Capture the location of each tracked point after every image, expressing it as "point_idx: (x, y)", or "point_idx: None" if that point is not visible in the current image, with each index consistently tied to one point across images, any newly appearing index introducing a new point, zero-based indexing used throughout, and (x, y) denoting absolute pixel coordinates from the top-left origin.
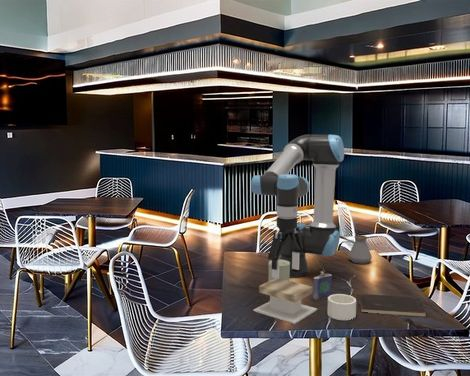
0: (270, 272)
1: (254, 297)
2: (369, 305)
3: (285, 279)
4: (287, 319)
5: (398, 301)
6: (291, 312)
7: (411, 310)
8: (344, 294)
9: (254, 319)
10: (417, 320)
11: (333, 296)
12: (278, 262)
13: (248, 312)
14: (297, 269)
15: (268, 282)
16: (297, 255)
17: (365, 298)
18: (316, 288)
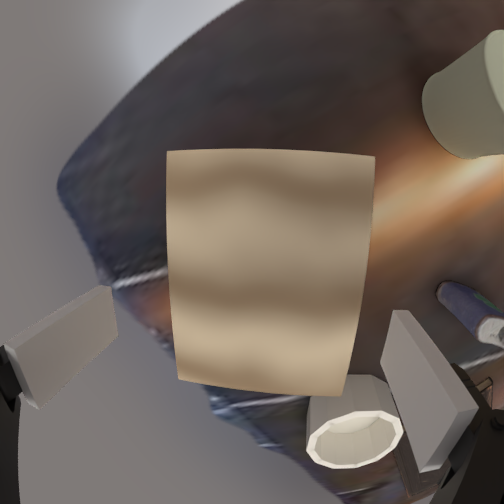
0: (462, 63)
1: (318, 69)
2: None
3: (480, 147)
4: None
5: None
6: None
7: (411, 486)
8: (401, 432)
9: (138, 201)
10: (385, 490)
11: (378, 414)
12: (38, 396)
13: (171, 144)
14: (382, 359)
15: (256, 158)
16: (418, 444)
17: None
18: (457, 316)
